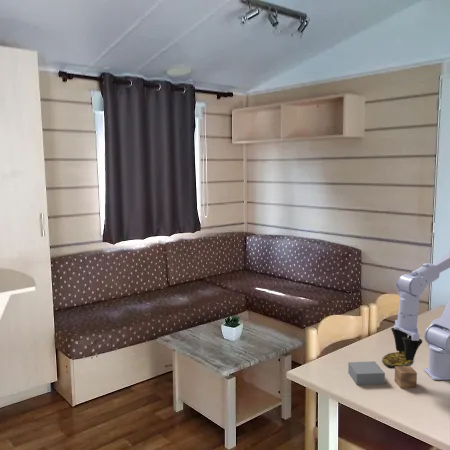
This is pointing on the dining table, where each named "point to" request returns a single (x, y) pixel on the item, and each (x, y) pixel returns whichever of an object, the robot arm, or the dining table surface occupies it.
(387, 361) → the seal
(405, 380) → the walnut cube
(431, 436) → the dining table surface
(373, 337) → the dining table surface
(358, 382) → the grey block
